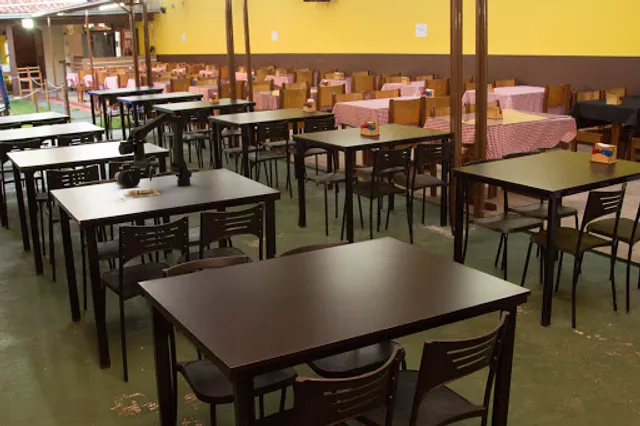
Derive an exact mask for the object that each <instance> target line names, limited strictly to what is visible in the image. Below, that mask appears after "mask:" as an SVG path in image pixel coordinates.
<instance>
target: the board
mask: <svg viewBox="0 0 640 426" xmlns="http://www.w3.org/2000/svg"><path fill="white" fill-rule="evenodd" d="M138 190H139V189H133V190H127V193H128V194H129V195H130V197H131V198H132V199H139V198H140V199H141V198H149V197H157V196H161V193H159V192H158V191H157V189H155V187H153V188H152V187H151V188H143V189H142V190H143V191H144V192H145V193H139V191H138Z"/></svg>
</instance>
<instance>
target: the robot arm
mask: <svg viewBox="0 0 640 426" xmlns="http://www.w3.org/2000/svg"><path fill="white" fill-rule="evenodd" d="M165 123H167V124H169V125H170V128H171V131H172V133H173V145H174V146H173V149H174V161H171V162H170V163H171V165H170V166H171V171H172V173H173V174H174V175H175V177H177V179H176V186H177V187H188V186H189V187H190V186H191V178H192V176H193V173H192V172H191V171H190V170H189V169H188V164H187V162H186V160H185V157H184V156H185V155H184V154H185V153H184V152H185V151H184V136H183V135H184V134H183V133H184V131H185V128H186V119H185V118H184V117H183V116H177V115H171V114H169V113H164V112H162V113H160V114H159V115H157V116H156V117H154V118H153V119H151V120H150V121H148V122H147V123H145V124H143V125H140V126H137V127H134V128H132V129H130V133H129V135H128V137H127V139H126V141H120V142H119V145H118V148H117V149H118V153H119V155H121V156H126V155H132V154H133V161H134V164H130V163H121V171H125V172H128V174H129V176H130V178H131V180H132V183H133V176H132V171H131V170H132V169H139V170H141V169H147V168H149V181H150V182H152V179H153V175H154V172H155V171H156V170H157V168H158V169H159V168H160V163H159V162H158V161H156V160H153V161H152V160H151V158H150V157H149V158H146V151H145V144H148V141H147V140H146V139H145V138H146V137H147V136H148V135H149V134H150V133H151V131H153V130H155V129H156V128H158V127H160V126H161V125H163V124H165Z"/></svg>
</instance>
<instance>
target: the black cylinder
mask: <svg viewBox="0 0 640 426" xmlns="http://www.w3.org/2000/svg"><path fill="white" fill-rule="evenodd" d="M130 170H131V171H132V176H133V183H132V180H131V178H130V176H129V174H128V172H125V171H123V170H121V171H118V172H116V173H115V175H114V179H115V180H116V182H118V183H119V184H120V185H121V186H122V187H124V188H128V189H135V188H136V187H137V186H139V184H140V182H141V177H140V174H139V172H137V171H136V170H134V169H130Z"/></svg>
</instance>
